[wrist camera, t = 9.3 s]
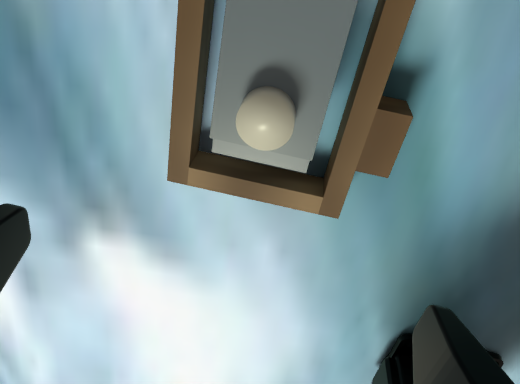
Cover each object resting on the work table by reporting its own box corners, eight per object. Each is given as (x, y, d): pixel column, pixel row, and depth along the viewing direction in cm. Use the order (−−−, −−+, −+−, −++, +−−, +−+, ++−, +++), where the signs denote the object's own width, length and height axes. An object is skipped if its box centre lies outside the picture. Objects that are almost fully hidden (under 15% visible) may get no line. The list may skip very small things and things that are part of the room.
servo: (370, -90, 15) (389, -93, 11) (309, 135, 20) (304, 198, 16) (262, -113, 15) (235, -127, 11) (228, 117, 20) (200, 175, 16)
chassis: (503, -149, 14) (525, -157, 12) (365, 204, 22) (368, 225, 20) (206, -211, 14) (192, -226, 12) (178, 162, 22) (167, 180, 20)
